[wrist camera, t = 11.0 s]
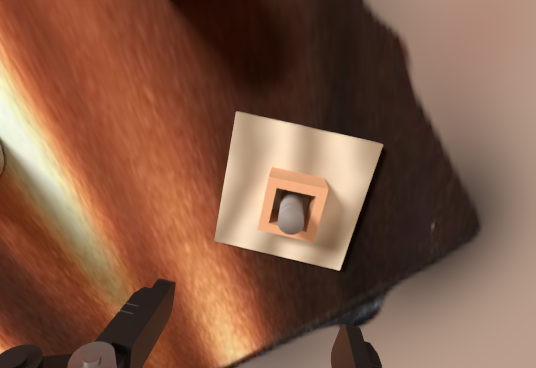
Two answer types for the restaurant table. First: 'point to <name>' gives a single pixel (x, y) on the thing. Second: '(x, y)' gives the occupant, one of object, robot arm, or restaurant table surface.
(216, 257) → the restaurant table surface
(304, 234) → the orange square hollow block
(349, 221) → the peg stand
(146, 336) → the robot arm
